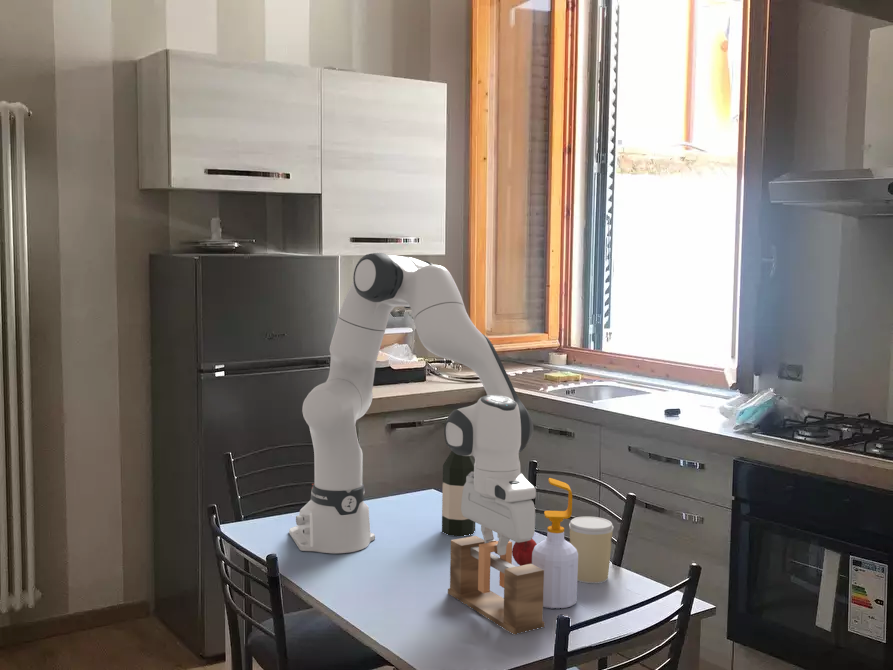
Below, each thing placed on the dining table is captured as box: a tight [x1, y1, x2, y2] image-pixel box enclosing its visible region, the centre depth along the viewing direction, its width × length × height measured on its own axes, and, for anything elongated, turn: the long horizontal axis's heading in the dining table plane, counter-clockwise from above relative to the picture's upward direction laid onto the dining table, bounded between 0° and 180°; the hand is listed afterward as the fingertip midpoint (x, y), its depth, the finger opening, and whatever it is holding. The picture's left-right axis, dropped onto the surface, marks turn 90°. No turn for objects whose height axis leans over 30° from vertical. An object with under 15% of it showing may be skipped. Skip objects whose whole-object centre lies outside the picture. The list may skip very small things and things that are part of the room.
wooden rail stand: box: [447, 535, 546, 635], centre depth 183 cm, size 23×7×11 cm, turn 31°
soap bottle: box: [532, 477, 578, 610], centre depth 187 cm, size 9×9×25 cm
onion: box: [512, 538, 538, 566], centre depth 207 cm, size 6×6×8 cm
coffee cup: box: [568, 515, 614, 584], centre depth 202 cm, size 9×9×12 cm
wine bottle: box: [441, 450, 476, 537], centre depth 231 cm, size 8×8×30 cm
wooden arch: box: [478, 540, 513, 593], centre depth 183 cm, size 2×6×9 cm, turn 121°
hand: (495, 551), depth 182 cm, fingers closed on wooden arch, 2 cm apart
